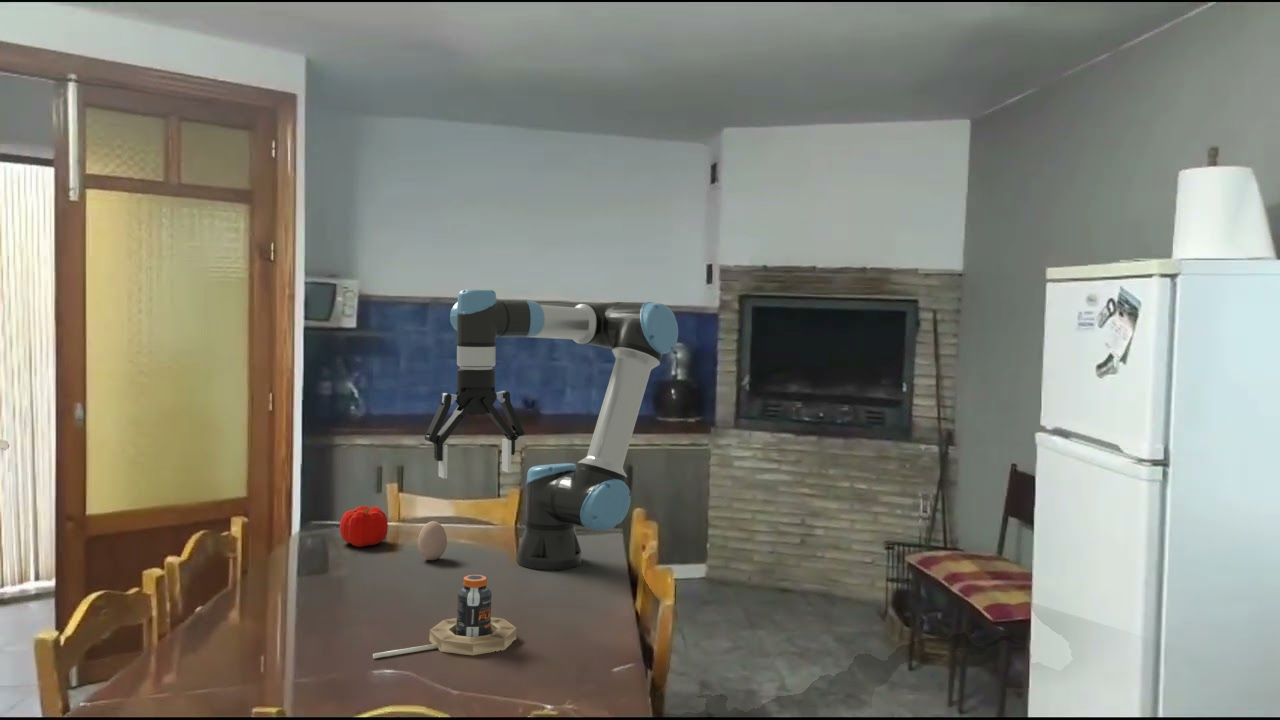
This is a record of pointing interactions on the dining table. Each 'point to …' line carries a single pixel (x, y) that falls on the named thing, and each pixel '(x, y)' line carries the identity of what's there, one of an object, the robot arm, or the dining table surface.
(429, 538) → the egg
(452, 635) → the beige flat ring
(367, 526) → the tomato
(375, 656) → the white thin rod
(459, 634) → the pill bottle
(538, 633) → the dining table surface
